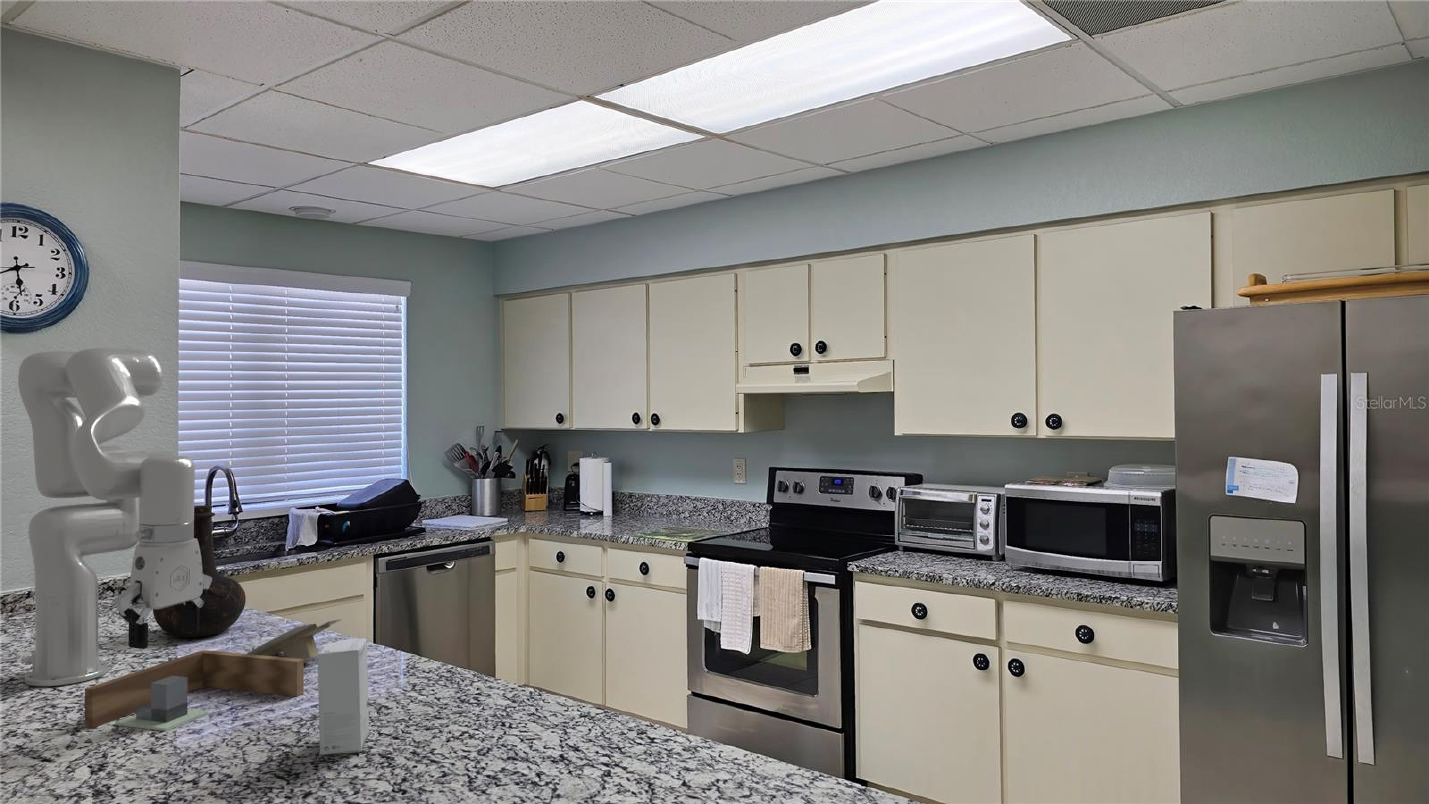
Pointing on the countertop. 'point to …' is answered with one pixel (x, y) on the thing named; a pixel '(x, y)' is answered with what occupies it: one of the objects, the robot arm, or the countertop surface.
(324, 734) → the skincare box
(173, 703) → the metal block
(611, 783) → the countertop surface
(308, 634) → the grey angled piece
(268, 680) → the wall
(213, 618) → the glass bottle
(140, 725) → the pad
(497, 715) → the countertop surface
